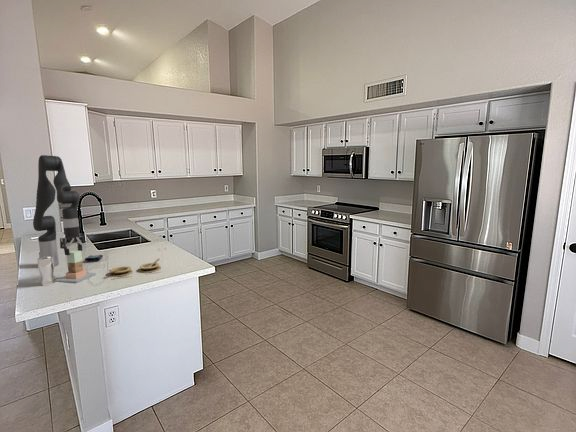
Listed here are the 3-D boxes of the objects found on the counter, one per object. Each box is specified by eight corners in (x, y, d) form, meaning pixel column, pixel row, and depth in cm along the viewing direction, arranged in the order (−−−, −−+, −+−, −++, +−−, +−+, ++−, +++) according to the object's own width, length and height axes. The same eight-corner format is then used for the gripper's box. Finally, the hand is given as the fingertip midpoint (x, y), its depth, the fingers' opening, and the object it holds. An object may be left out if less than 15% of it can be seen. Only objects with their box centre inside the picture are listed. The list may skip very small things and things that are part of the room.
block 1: (67, 262, 179) (66, 252, 178) (75, 260, 184) (73, 250, 183) (75, 263, 178) (73, 252, 177) (82, 260, 183) (81, 250, 182)
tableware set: (159, 265, 210) (159, 256, 209) (162, 273, 192) (162, 264, 191) (109, 271, 196) (108, 262, 195) (107, 281, 179) (106, 271, 178)
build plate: (55, 281, 177) (54, 274, 176) (76, 273, 191) (75, 267, 190) (76, 283, 174) (75, 276, 174) (96, 274, 188) (95, 268, 187)
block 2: (68, 272, 180) (67, 262, 179) (75, 269, 185) (74, 260, 184) (75, 273, 179) (74, 263, 178) (83, 270, 184) (82, 260, 183)
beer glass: (59, 281, 177) (56, 256, 175) (50, 285, 170) (47, 259, 168) (46, 281, 177) (43, 256, 174) (37, 286, 170) (33, 259, 168)
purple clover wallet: (84, 258, 212) (89, 254, 222) (84, 262, 212) (89, 259, 222) (99, 256, 214) (103, 253, 225) (99, 261, 215) (104, 257, 225)
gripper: (76, 223, 186) (78, 249, 188) (54, 227, 172) (57, 256, 175) (86, 224, 185) (89, 250, 187) (65, 228, 171) (68, 256, 173)
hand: (73, 253), depth 181 cm, fingers open, 8 cm apart
